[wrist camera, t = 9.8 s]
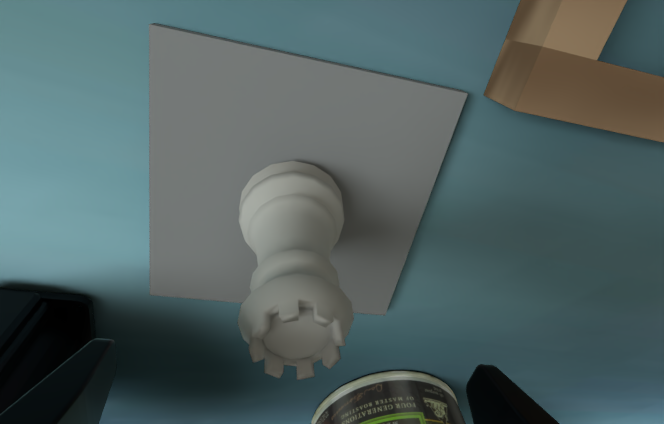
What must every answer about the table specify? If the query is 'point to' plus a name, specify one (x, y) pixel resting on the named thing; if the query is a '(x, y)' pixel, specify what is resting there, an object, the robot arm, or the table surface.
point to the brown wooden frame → (574, 70)
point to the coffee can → (391, 401)
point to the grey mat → (284, 159)
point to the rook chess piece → (293, 269)
